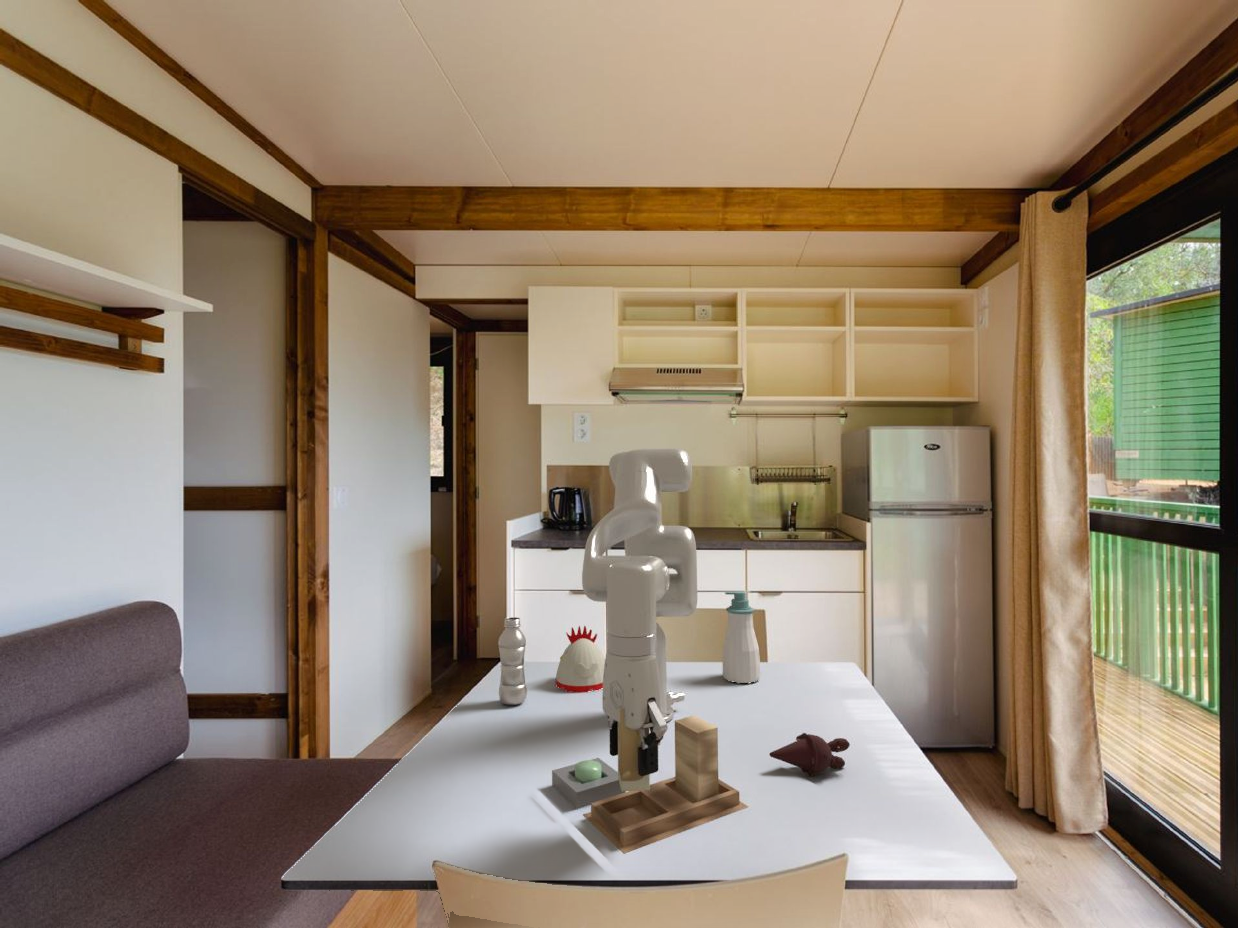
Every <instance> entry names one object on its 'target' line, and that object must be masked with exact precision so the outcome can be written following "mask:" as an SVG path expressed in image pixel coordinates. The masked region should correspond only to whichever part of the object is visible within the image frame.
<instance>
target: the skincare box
mask: <svg viewBox="0 0 1238 928" xmlns="http://www.w3.org/2000/svg"><path fill="white" fill-rule="evenodd" d="M647 723H649V715H648V713H647V715H646V719H645V722H644V724H647ZM644 732H645V735H646V737H647V736H648V735H649V734H650V728H647V729H644ZM638 747H641V745H640V741H639V737H638V733H637V730H631V729H629V728H627V727H626V726H625V725H624V708H623V707H621V706H620V723H619V722H618V755H617V772H618V777H619V783H620V787H621V791H626V792H629V791H640V790H649V789H650V785H651V782H650V777H651V776H650V775H651V774H649V775H645V776H640V775H639V774H638Z"/></svg>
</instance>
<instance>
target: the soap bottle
mask: <svg viewBox="0 0 1238 928" xmlns="http://www.w3.org/2000/svg"><path fill="white" fill-rule="evenodd" d="M724 594H725V595H733V598H732V599H731V602H730V603H731V604H730V605H729V606H728V607H726V609H725V610H726V612H727V628H726V632H725V638H724V642H723V646H722V677H723V678H724V679H725V680H726V679H727V680H729V681H728V682H730V681H734V682H738V683H737V684H740V683H748V684H750V683H749V682H754V681H756V682H758V681H759V680H760V677H761V660H760V659H761V658H760V649H759V645H758V644H759V643H758V639H757V637H756V632H755V629H754V621H753V618H754V617H753V613H754V611H755V608H754V607H751V606H750V605H749V603H750V601H749V599H747V598H746V597H747V596H746V591H725V592H724ZM727 680H726V681H727ZM757 680H758V681H757ZM754 683H755V682H754Z"/></svg>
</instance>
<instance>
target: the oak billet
mask: <svg viewBox="0 0 1238 928" xmlns="http://www.w3.org/2000/svg"><path fill="white" fill-rule="evenodd" d="M718 732H719V731H718V726H715V725H714V724H711V723H710V722H708V721H706V720H704V719H701V718H699V717H697V716H695V715H690V716H688V717H684V718H680V719H676V720H674V758H675V759H674V761H675V762H674V772H675V774H674V775H675V776H674V777H675V783H676V792H677V793H678V794H679V795H681V796H682V797H684V798H685V799H687V800H688V801H690V802H691V803H692V804H694V803H696V802H699V801H702V800H705V799H708V798H711V797H714V796H716V795H719V783H718V779H719V742H718V741H719V740H718V739H719V738H718V737H719V736H718V735H719V734H718Z"/></svg>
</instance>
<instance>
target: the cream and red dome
mask: <svg viewBox="0 0 1238 928" xmlns="http://www.w3.org/2000/svg"><path fill="white" fill-rule="evenodd" d="M592 632H593V630H592V629H590V630H589V631H587V627H586V625H584V626H583V629H582V630H581V626H580V625H578V628H577V633H575V630H574V628H573V627H571V632H570V633H571V634H568V632H565V634H566V636H567V638H568V641H569V644H568V646H567V647H566V648H565V649H564V651H563V654H562V655H561V656H560V657H559V663H558V667H557V671H556V674H555V675H556V676H555V686H556V685H557V686H556V688H558V687H559V688H561V689H563V690H562V691H564V690H567V691H566V692H569V691H572V692H571V693H589V692H588V691H592V690H598V691H600V690H599V689H601V688H603V674H604V664H605V656H604V653H602V651H601V649H600V648H599V647H598V645H597V644H596V643H595V641H596V640H597V637H598V633H595V634H594V636H593V637H592ZM559 688H558V689H559ZM561 689H560V690H561ZM601 690H602V689H601ZM592 692H593V691H592Z"/></svg>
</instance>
